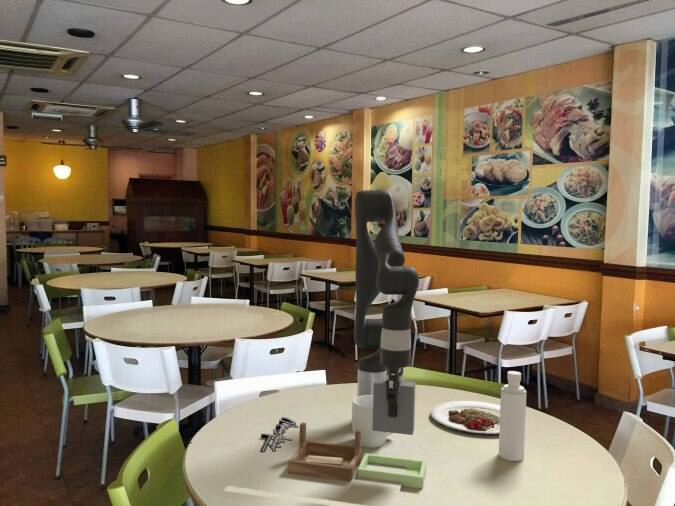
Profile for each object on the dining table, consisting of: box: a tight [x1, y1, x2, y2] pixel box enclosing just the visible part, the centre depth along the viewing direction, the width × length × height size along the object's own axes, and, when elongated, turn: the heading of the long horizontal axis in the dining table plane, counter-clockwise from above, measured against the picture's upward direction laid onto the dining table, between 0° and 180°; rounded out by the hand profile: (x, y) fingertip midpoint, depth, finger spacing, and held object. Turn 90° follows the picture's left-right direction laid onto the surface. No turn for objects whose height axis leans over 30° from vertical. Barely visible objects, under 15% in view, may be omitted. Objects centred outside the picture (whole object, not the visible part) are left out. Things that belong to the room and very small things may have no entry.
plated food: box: [430, 400, 500, 435], centre depth 182 cm, size 30×30×3 cm
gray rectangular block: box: [372, 379, 417, 436], centre depth 140 cm, size 4×10×12 cm, turn 76°
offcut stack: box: [305, 455, 344, 466], centre depth 140 cm, size 4×10×3 cm, turn 76°
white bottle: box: [498, 370, 527, 462], centre depth 153 cm, size 7×7×25 cm
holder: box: [357, 452, 427, 490], centre depth 141 cm, size 10×16×3 cm, turn 76°
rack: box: [288, 422, 364, 482], centre depth 144 cm, size 14×16×10 cm
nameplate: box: [259, 416, 299, 453], centre depth 165 cm, size 27×2×10 cm
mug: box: [351, 395, 394, 449], centre depth 160 cm, size 15×11×13 cm
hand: (393, 413), depth 140 cm, fingers closed on gray rectangular block, 4 cm apart
